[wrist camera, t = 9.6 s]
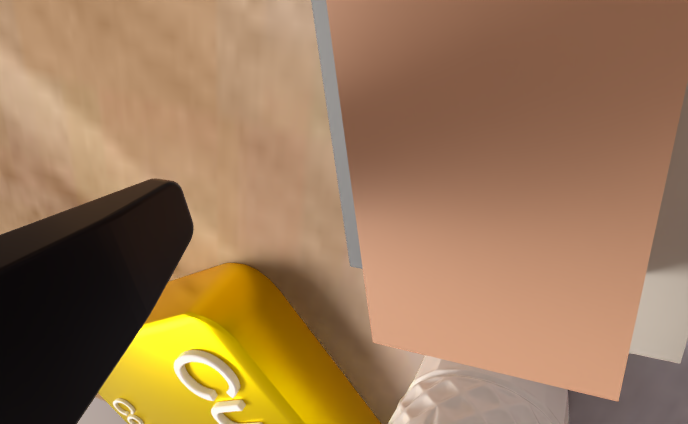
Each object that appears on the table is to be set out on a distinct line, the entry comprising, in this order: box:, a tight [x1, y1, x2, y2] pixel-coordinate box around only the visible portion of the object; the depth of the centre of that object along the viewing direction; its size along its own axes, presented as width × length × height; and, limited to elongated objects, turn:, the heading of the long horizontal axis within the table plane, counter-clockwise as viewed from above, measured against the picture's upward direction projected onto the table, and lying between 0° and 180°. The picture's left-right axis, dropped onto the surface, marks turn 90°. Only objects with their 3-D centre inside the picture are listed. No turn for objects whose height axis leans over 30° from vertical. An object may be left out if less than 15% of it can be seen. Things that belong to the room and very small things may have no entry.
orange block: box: [326, 0, 688, 402], centre depth 9 cm, size 4×6×3 cm, turn 8°
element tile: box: [98, 263, 381, 424], centre depth 35 cm, size 15×15×5 cm
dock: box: [311, 0, 363, 269], centre depth 15 cm, size 12×16×5 cm
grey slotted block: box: [629, 81, 688, 364], centre depth 12 cm, size 6×10×4 cm, turn 8°
